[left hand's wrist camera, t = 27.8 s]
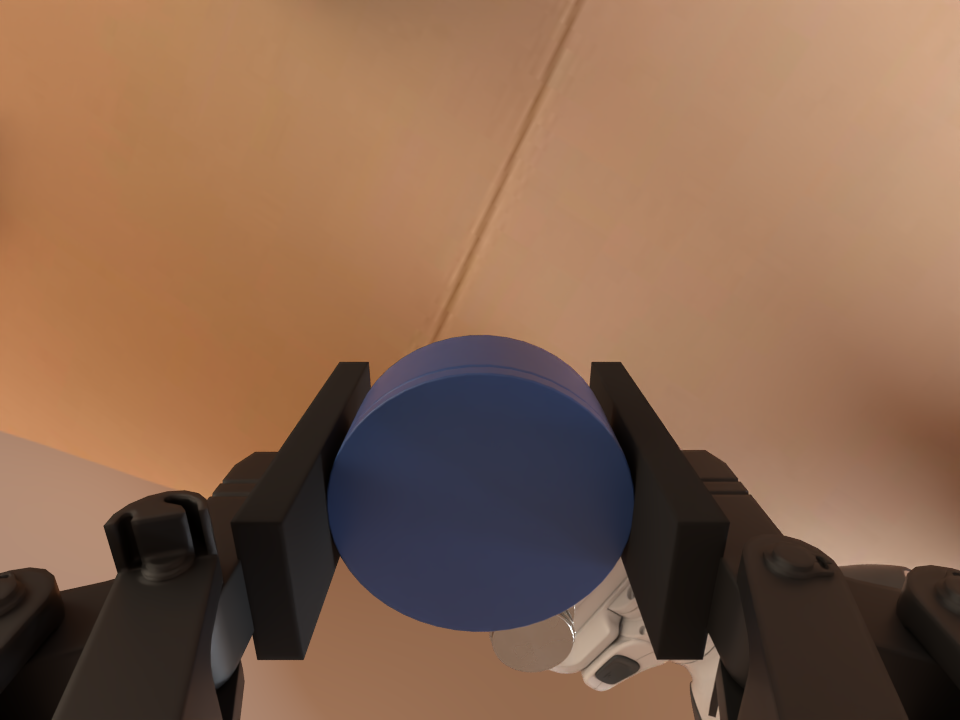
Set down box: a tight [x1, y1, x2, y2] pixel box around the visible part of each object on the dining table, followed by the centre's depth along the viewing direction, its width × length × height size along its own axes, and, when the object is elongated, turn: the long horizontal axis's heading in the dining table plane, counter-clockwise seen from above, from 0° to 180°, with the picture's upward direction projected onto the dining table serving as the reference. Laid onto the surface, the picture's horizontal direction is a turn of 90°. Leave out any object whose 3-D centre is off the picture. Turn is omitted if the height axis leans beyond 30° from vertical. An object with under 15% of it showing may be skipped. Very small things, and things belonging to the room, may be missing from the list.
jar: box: [490, 605, 576, 672], centre depth 36 cm, size 5×5×18 cm
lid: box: [327, 335, 634, 632], centre depth 11 cm, size 6×6×2 cm
